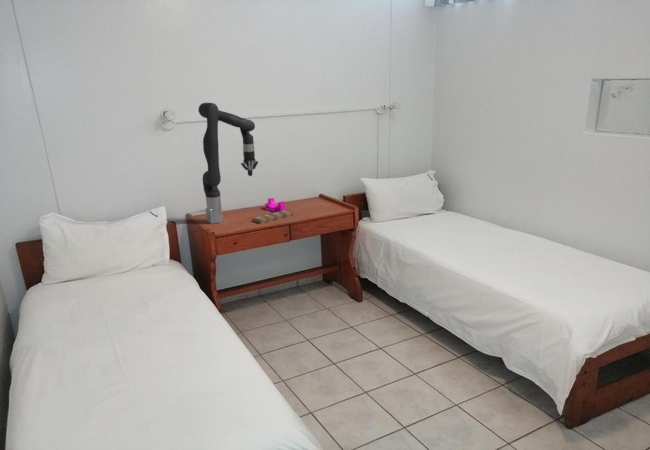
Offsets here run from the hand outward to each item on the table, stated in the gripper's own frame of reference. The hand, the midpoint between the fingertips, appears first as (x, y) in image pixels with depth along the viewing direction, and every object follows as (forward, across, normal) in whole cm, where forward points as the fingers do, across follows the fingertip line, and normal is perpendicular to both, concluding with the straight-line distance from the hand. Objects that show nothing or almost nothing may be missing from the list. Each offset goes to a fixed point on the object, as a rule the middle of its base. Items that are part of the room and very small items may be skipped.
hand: (250, 175), depth 319 cm
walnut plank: (+25, +1, -24) cm, 35 cm away
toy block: (+26, +13, -9) cm, 30 cm away
